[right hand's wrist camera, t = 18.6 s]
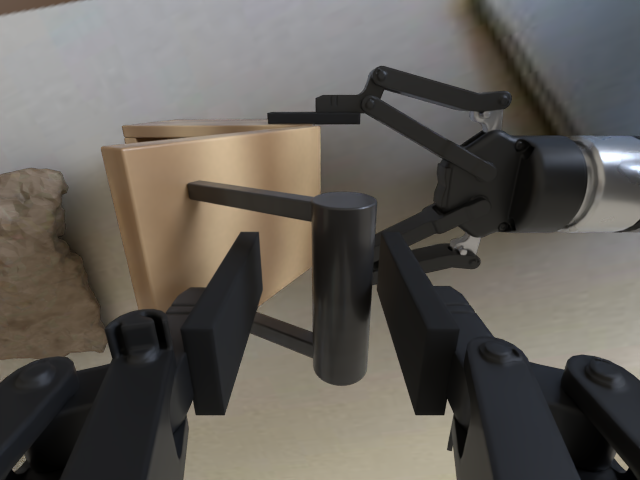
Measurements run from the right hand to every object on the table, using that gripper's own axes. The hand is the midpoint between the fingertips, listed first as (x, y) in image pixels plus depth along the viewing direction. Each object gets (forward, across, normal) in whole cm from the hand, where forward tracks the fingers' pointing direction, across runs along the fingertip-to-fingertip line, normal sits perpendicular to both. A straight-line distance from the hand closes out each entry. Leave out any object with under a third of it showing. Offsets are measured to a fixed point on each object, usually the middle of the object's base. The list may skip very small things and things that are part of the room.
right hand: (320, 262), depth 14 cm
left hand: (+14, +4, 0) cm, 14 cm away
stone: (+20, +30, +10) cm, 38 cm away
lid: (+5, +4, 0) cm, 7 cm away
